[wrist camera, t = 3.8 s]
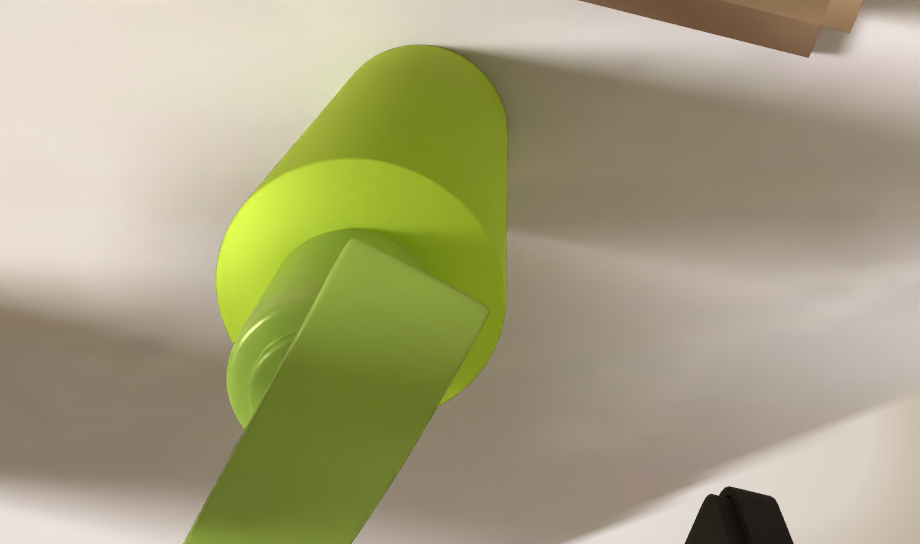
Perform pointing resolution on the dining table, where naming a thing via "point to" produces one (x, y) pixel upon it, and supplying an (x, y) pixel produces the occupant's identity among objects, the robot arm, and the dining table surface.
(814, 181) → the dining table surface
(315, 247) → the soap dispenser
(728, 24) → the wooden tray
